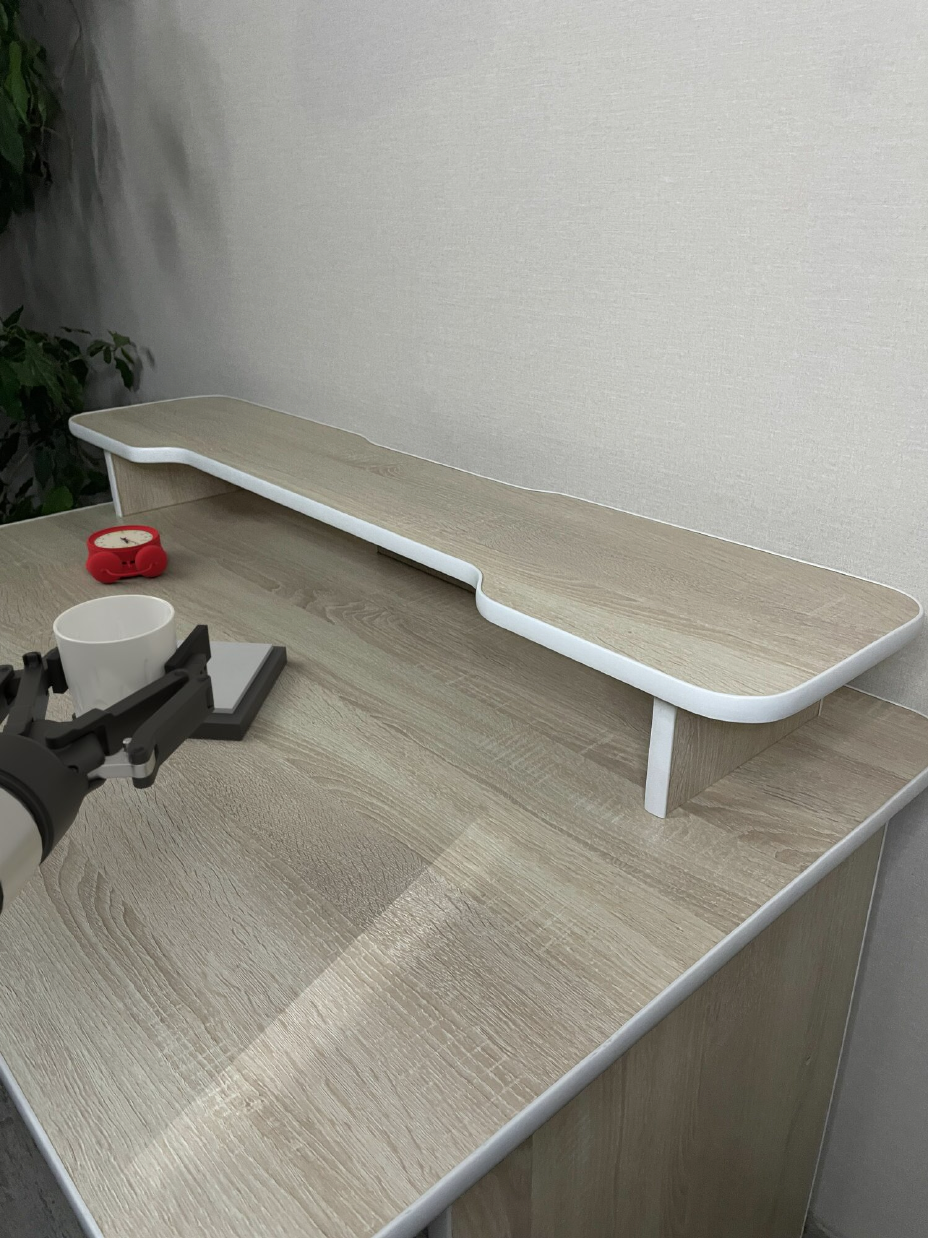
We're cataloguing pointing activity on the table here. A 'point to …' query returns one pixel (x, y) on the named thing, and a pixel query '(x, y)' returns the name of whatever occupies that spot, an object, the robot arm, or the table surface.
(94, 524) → the table surface
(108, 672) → the white cup
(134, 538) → the alarm clock
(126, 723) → the robot arm
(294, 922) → the table surface
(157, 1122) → the table surface
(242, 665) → the scale
